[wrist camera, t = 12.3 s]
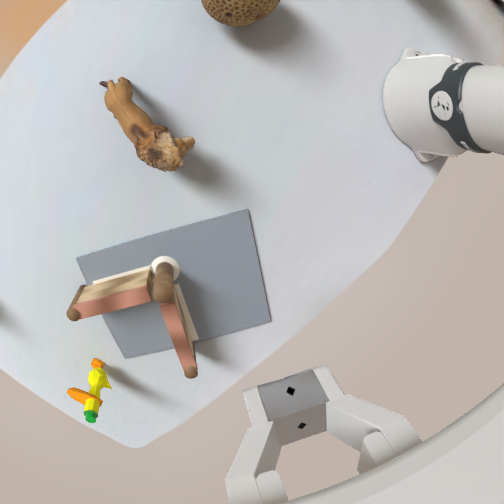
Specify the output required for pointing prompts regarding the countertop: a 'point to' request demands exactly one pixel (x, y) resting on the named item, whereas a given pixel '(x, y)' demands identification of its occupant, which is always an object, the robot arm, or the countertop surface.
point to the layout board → (186, 282)
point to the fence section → (123, 292)
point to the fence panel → (180, 335)
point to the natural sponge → (239, 10)
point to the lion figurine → (145, 129)
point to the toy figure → (92, 391)
